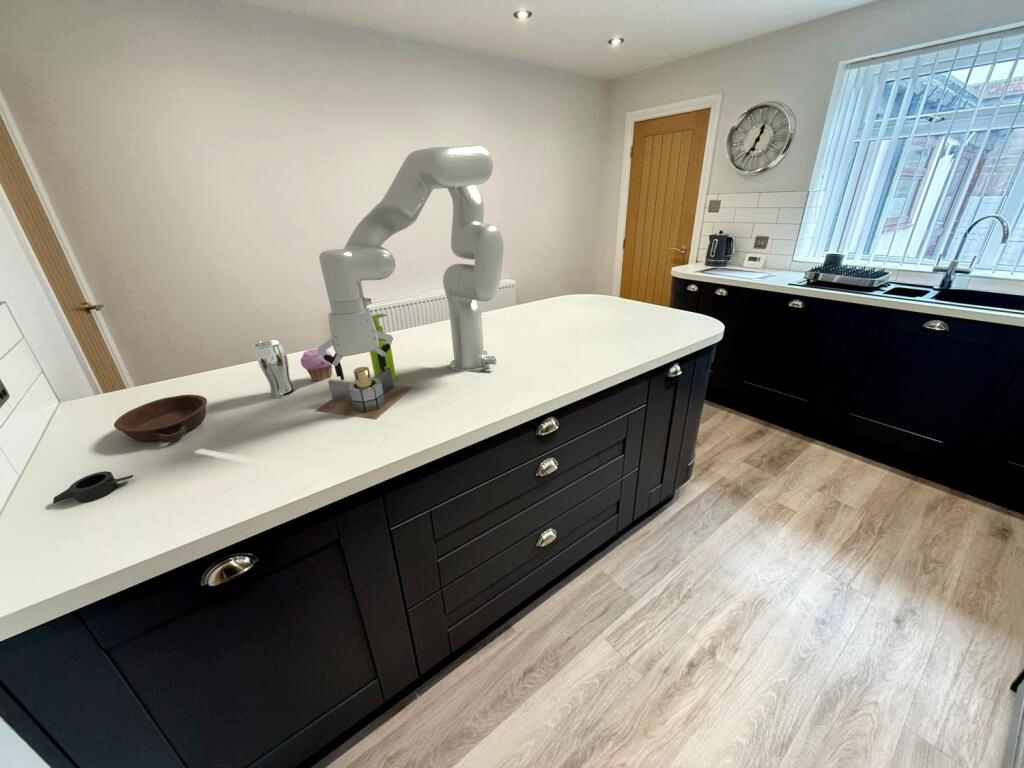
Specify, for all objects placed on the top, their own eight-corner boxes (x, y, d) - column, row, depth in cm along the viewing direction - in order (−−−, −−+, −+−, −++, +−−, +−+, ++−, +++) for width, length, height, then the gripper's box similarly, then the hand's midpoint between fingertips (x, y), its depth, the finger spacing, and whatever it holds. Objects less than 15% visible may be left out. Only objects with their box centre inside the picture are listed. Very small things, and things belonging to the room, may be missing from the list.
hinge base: (413, 390, 110) (413, 387, 110) (376, 423, 94) (375, 419, 94) (359, 384, 115) (358, 381, 114) (315, 414, 99) (314, 410, 99)
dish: (124, 463, 83) (113, 443, 81) (122, 425, 98) (113, 407, 95) (221, 431, 94) (214, 413, 91) (206, 401, 108) (199, 385, 106)
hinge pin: (379, 402, 102) (371, 367, 97) (370, 409, 99) (363, 373, 94) (367, 401, 103) (359, 366, 98) (358, 407, 100) (350, 372, 95)
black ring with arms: (90, 481, 78) (83, 469, 77) (141, 478, 78) (135, 467, 77) (51, 509, 71) (42, 496, 70) (107, 506, 71) (99, 493, 70)
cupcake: (302, 381, 118) (293, 350, 114) (330, 371, 124) (322, 342, 120) (314, 389, 113) (305, 357, 108) (343, 379, 118) (335, 348, 114)
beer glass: (276, 388, 114) (260, 339, 107) (301, 386, 114) (286, 338, 108) (265, 399, 108) (247, 348, 101) (291, 397, 108) (275, 346, 102)
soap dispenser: (402, 377, 118) (392, 313, 109) (387, 387, 112) (374, 320, 104) (387, 375, 120) (376, 311, 112) (371, 384, 115) (358, 317, 106)
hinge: (404, 388, 109) (400, 368, 106) (373, 413, 97) (368, 392, 94) (359, 383, 113) (355, 364, 110) (324, 407, 100) (318, 386, 98)
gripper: (383, 298, 96) (394, 362, 104) (306, 308, 89) (323, 376, 96) (389, 304, 90) (401, 371, 98) (308, 315, 83) (326, 387, 90)
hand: (362, 374), depth 97 cm, fingers open, 9 cm apart
